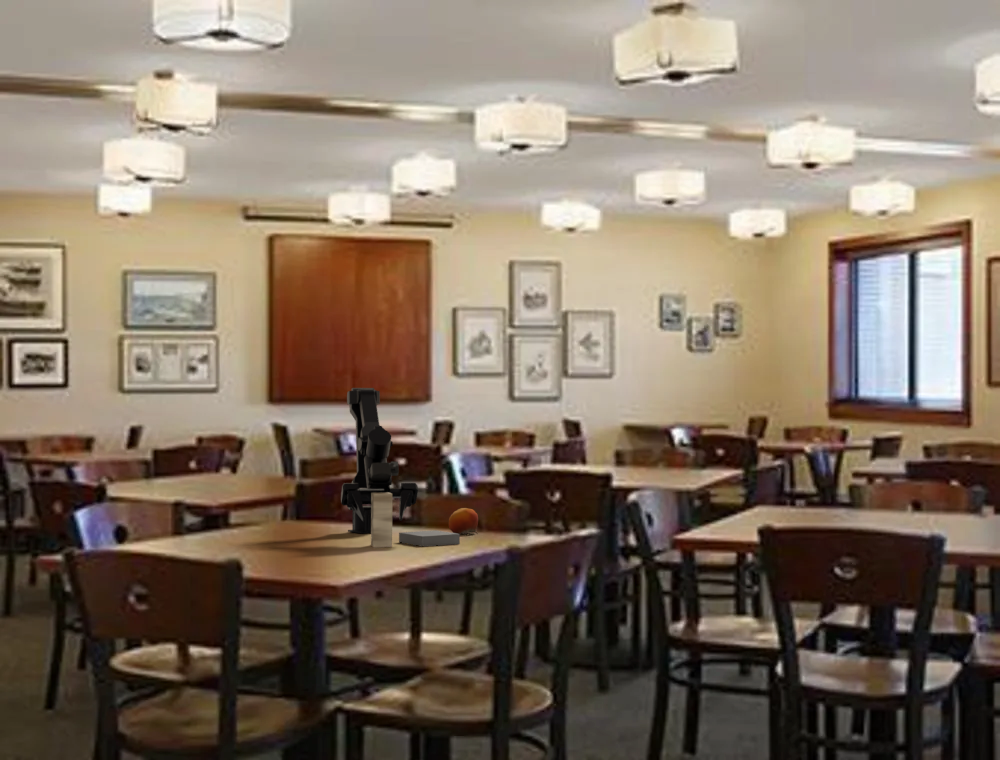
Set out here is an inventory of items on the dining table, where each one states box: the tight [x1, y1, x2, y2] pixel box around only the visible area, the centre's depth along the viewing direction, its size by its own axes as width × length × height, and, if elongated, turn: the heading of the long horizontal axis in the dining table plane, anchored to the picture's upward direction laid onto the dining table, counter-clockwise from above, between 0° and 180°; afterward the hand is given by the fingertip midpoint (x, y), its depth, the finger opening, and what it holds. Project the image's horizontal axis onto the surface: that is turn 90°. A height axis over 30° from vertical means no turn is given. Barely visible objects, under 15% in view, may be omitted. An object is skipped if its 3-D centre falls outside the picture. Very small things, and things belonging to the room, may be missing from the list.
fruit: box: [448, 507, 479, 535], centre depth 380 cm, size 8×8×8 cm
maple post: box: [370, 493, 393, 548], centre depth 349 cm, size 5×5×13 cm
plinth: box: [398, 530, 461, 547], centre depth 356 cm, size 11×11×2 cm
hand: (382, 519), depth 347 cm, fingers open, 9 cm apart
